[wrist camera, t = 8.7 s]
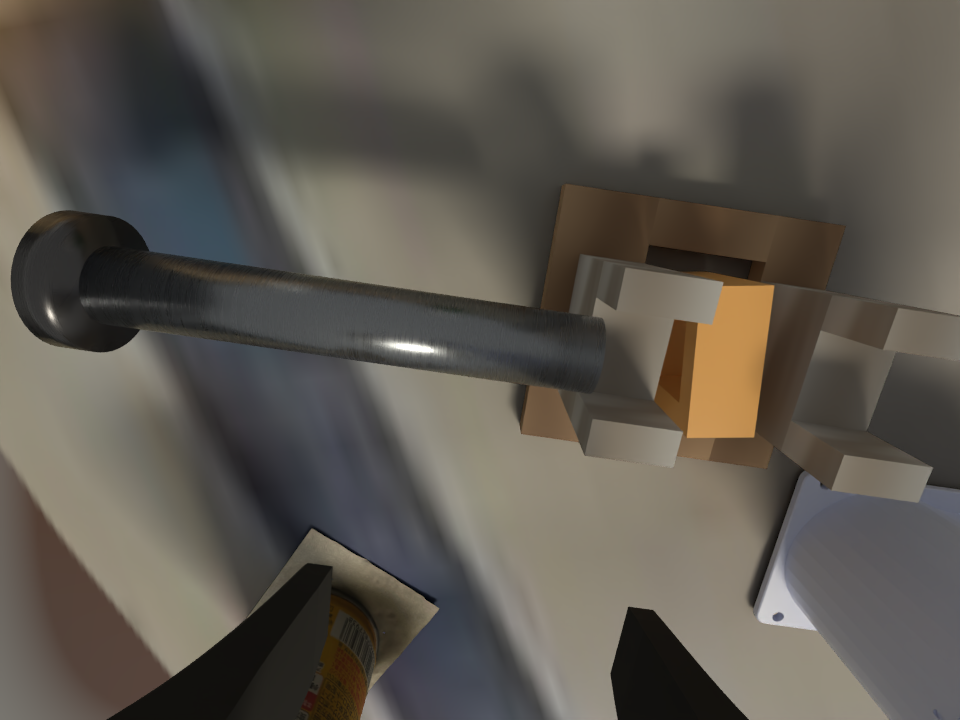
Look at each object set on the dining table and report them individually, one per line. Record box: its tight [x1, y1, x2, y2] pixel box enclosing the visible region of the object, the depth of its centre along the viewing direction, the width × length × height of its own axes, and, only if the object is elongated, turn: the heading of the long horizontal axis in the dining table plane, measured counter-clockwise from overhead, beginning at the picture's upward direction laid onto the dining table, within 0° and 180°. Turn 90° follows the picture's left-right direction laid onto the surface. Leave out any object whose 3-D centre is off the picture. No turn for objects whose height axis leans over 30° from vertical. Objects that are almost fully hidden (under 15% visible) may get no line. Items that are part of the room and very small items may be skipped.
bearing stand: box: [520, 184, 960, 503], centre depth 17 cm, size 10×10×8 cm
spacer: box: [654, 271, 775, 438], centre depth 18 cm, size 2×5×5 cm, turn 1°
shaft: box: [11, 210, 606, 394], centre depth 14 cm, size 15×4×4 cm, turn 82°
